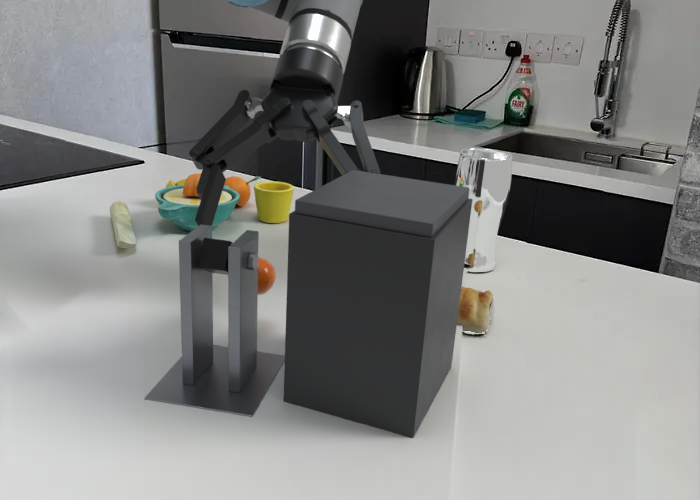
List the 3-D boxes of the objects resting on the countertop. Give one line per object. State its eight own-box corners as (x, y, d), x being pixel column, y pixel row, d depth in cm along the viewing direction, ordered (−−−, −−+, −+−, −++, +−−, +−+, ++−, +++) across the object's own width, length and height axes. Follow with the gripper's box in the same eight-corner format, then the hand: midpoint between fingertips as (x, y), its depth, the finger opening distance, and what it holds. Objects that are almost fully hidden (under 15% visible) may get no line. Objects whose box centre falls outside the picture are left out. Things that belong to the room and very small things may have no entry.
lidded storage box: (271, 409, 56) (277, 198, 50) (330, 347, 66) (340, 167, 60) (411, 450, 52) (436, 225, 46) (450, 377, 62) (474, 187, 56)
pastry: (399, 323, 72) (403, 290, 71) (412, 300, 78) (415, 269, 77) (488, 340, 70) (493, 306, 69) (494, 314, 76) (499, 282, 75)
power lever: (241, 294, 67) (247, 258, 68) (276, 299, 66) (282, 263, 67) (188, 273, 53) (196, 229, 54) (232, 279, 53) (240, 234, 53)
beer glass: (482, 254, 94) (496, 147, 89) (508, 273, 88) (525, 159, 83) (436, 257, 92) (449, 147, 87) (460, 276, 86) (475, 160, 81)
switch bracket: (194, 352, 64) (191, 212, 59) (287, 366, 62) (291, 223, 58) (144, 410, 55) (136, 249, 50) (252, 429, 53) (254, 264, 48)
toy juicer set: (234, 193, 116) (234, 148, 113) (300, 221, 104) (302, 171, 101) (64, 219, 98) (60, 166, 95) (120, 258, 85) (116, 198, 82)
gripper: (422, 98, 78) (392, 266, 69) (214, 80, 82) (162, 236, 73) (422, 53, 71) (389, 232, 62) (196, 35, 75) (135, 201, 66)
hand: (266, 235), depth 67 cm, fingers open, 13 cm apart
